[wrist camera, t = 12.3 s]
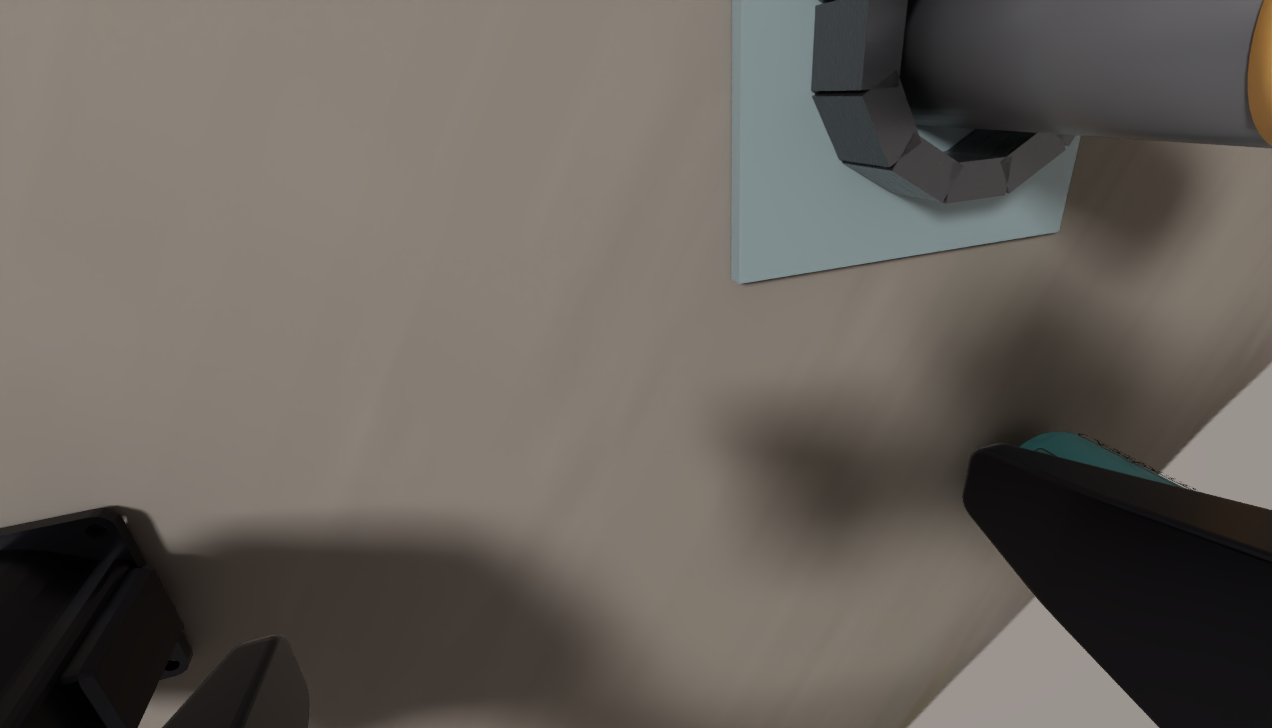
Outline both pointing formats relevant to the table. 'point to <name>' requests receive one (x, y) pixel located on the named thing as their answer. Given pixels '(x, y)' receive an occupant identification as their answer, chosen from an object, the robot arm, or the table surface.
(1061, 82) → the gray canister
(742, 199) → the blue-gray square plate
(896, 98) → the barrel ring
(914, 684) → the table surface
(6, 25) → the table surface
